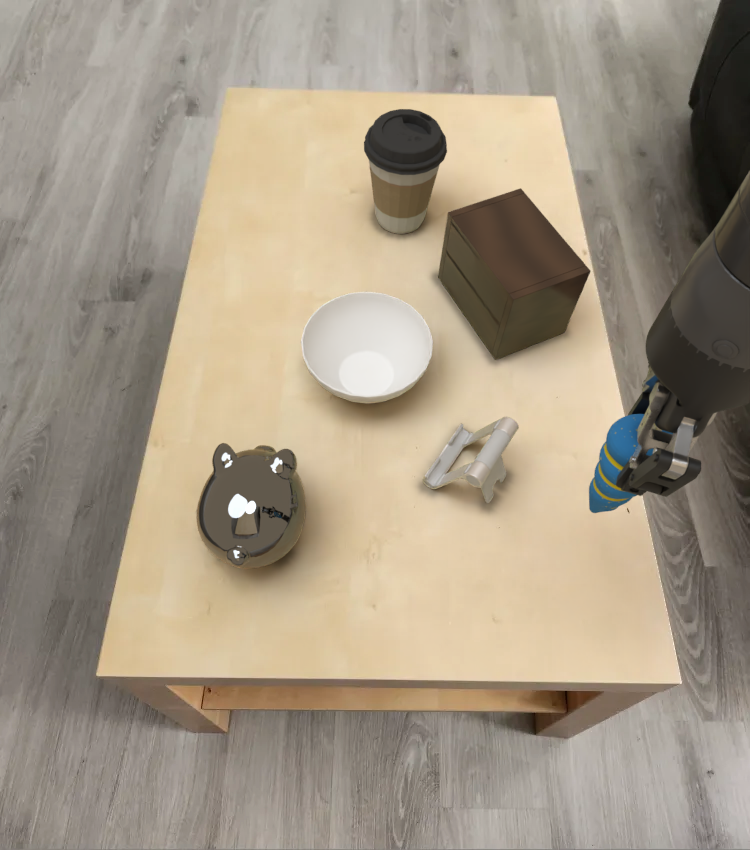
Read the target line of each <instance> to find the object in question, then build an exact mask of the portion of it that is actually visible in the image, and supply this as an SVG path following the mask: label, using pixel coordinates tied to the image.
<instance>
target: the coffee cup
mask: <svg viewBox="0 0 750 850" xmlns="http://www.w3.org/2000/svg"><path fill="white" fill-rule="evenodd" d="M447 145H448V144H447V137H446V134H445V133H444V131H443V130H442V128H441V126H440V125H439V123H438V121H437V120H436V119H435V118H434V117H432V116H431V115H430V114H427V113H425V112H423V111H420V110H416V109H412V108H399V109H393V110H389V111H387V112H385V113H383V114H381V115H379V117H377V118H376V119H375V120H374V122H373V124H372V125H371V126H370V127H368V129H367V132H366V134H365V136H364V141H363V152H364V154H365V156H366V157H367V159H368V164H369V173H370V181H371V188H372V198H373V206H374V215H375V217H376V220H377V223H378V224H379V226H380V227H382V229H383V230H385V231H387V232H389V233H392V234H397V235H405V234H410V233H413V232H415V231H417V230H418V229H419V228H420V227H421V226H422V223H423V222H424V220H425V218H426V214H427V211H428V208H429V204H430V201H431V197H432V194H433V189H434V186H435V183H436V179H437V176H438V172H439V169H440V166H441V164H442V163H443V162H444V160H445V158H446V155H447V153H448V147H447Z"/></svg>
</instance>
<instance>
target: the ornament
mask: <svg viewBox="0 0 750 850" xmlns="http://www.w3.org/2000/svg"><path fill="white" fill-rule="evenodd" d="M644 415H645V414H632V415H628V414H627V415H625V416H622V417H620V418H618V419H617V420H616V421H615V422H614V423H612V425H611V426H610V428H609V429H608V431H607V433H606V437H605V439H606V440H605V441H604V443H602V446H601V448H600V450H599V456H598V462H597V464H596V466H595V468H594V474H593V475H594V476H593V478H592V479H591V481H590V483H589V485H588V505H589V506H588V509H589V511H590V512H591V513H593V514H597V513H598V514H599V513H605V512H612V511H614V510H616V509H618V508H619V507H620V506H623V505H625V504H627V503H628V502H630V501H631V500H632V499H633V498H635V497H637V496H638V495H635V494H632V493H629V492H625V491H622V490H621V488H619V487H617V486H616V481H617V476H618V474H619V473H620V472H621V470H622V469H623V468H624V466H625V465H626V464H627V462H628V461H629V460H630V458H631V456H633V453H634V451H635V450H636V448H637V446H638V442H637V429H638V427H639V425H640V423H641V421H642V419H643V417H644ZM652 429H655V430H658V431H662V432H665V433H669V434H672V435H673V433H671V432H667V431H664V430H661V429H659V428H658V427H657V426H656V425H655V423H654V425H653V427H652ZM653 450H654V449H649V450H648V452H647V454H646V455H649V456H651V455H652V454H653Z"/></svg>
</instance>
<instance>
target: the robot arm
mask: <svg viewBox="0 0 750 850" xmlns="http://www.w3.org/2000/svg"><path fill="white" fill-rule="evenodd" d="M645 355H646V359H647V364H648V365H647V368H648V370H647V373H646V378H645V379H643V381H642V384H641V387H642V388H641V393H640V395H639V397H638V398H637V399H636V401H635V403H633V406H632V407H631V409H630V410H629V411H628V413H627V416H628V415H632V414H645V415H644V417H643V419H642V421H641V423H640V425H639V427H638V429H637V442H638V446H637V448H636V450H635V451H634V453H633V456H631V458H630V460H629V461H628V462H627V464H626V465H625V466H624V468H623V469H622V470H621V472H620V473H619V474H618V476H617V481H616V486H617V487H619V488H621V490H622V491H625V492H629V493H632V494H635V495H637V496H639V497H642V496H643V495H645V494H646V493H647V492H649V493H650V494H651V493H652V494H654V495H659V496H662V497H666V498H667V497H669V496H670V495H672V494H674V493H675V492H677V491H678V490H680V489H682V488H683V487H684V486H686V485H688V484H689V483H691V482H693V481H695V480H696V479H697V478H698V476H699V475H700V474H701V472H702V460H700V459H697V458H694V457H692V456H690V453H691V451H692V450H693V448H694V447H695V445H696V443H697V441H698V440H699V438H700V436H701V435H702V434H703V432H704V431H705V429H706V428H707V427H708V426H711V424H712V423H713V422H714V419H715V417H716V416H717V414H718V413H719V412H723V411H728V410H731V409H732V410H733V409H736V408H737V409H738V408H740V407H744V406H747V405H748V404H750V170H748V172H747V174H746V176H745V177H744V179H743V180H742V182H741V184H740V185H739V187H738V189H737V191H736V192H735V194H734V195H733V197H732V198H731V201H730V202H729V204H728V206H727V207H726V209H725V211H724V212H723V214H722V216H721V217H720V219H719V221H718V223H717V224H716V226H715V227H714V228H713V230H712V231H711V232H710V233H709V235H707V237H706V238H705V239H704V240H703V242H702V243H701V244H700V245H699V247H698V248H697V249H696V251H695V252H694V253H693V255H692V257H691V258H690V260H689V262H688V264H687V265H686V267H685V268H684V270H683V272H682V274H681V275H680V277H679V278H678V280H677V282H676V284H675V285H674V287H673V289H672V290H671V292H670V294H669V296H668V297H667V298H666V301H665V302H664V304H663V306H662V307H661V309H660V310H659V313H658V314H657V316H656V318H655V319H654V321H653V323H652V325H651V326H650V328H649V330H648V333H647V335H646V340H645ZM654 423H655V425H656V426H657V427H658V428H659V429H661V430H664V431H667V432H671V433H673V435H672V434H669V433H665V432H662V431H658V430H655V429H652V427H653V425H654ZM649 449H654V450H653V454H652V455H651V456H649V455H646V454H647V452H648V450H649Z"/></svg>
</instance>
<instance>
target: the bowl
mask: <svg viewBox="0 0 750 850" xmlns="http://www.w3.org/2000/svg"><path fill="white" fill-rule="evenodd" d="M426 321H427V320H425V318H424V316H423V315H422V314H421V313H420V312H419V311H418V310H417V309H416V308H415V307H414V306H413V305H411V304H409V303H407V302H406V301H404V300H402V299H401V298H399V297H396V296H393V295H390V294H387V293H384V292H377V291H376V292H375V291H367V290H366V291H355V292H349V293H346V294H341V295H340V296H336V297H333V298H332V299H330V300H329V301H327V302H325V303H323V304H322V305H320V306H319V307H318V308H317V309H316V310H315V311H314V312H313V313H312V314H311V315H310V317H309V318H308V320H307V322H306V324H305V326H304V327H303V330H302V335H301V340H300V347H301V353H302V358H303V361H304V363H305V366H306V368H307V370H308V372H309V374H310V375H311V376H312V378H313V379H315V381H316V382H317V383H318V384H319V385H320V386H321V388H322V389H324V390H325V391H327V392H329V393H331V394H332V395H333V396H335V397H337V398H341V399H342V400H346V401H348V402H352V403H358V404H359V403H360V404H375V403H382V402H386V401H389V400H393V399H395V398H399V397H400V396H402V395H404V394H405V393H407V392H408V391H409V390H411V389H412V388H413V387H414V386H415V385H416V384H417V383H418V382H419V381H420V379H421V378H422V377H423V376H424V375H425V373H426V371H427V369H428V366H429V364H430V362H431V359H432V356H433V348H434V340H433V337H432V332H431V328H430V326H429V325H428V323H427V322H426Z"/></svg>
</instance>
